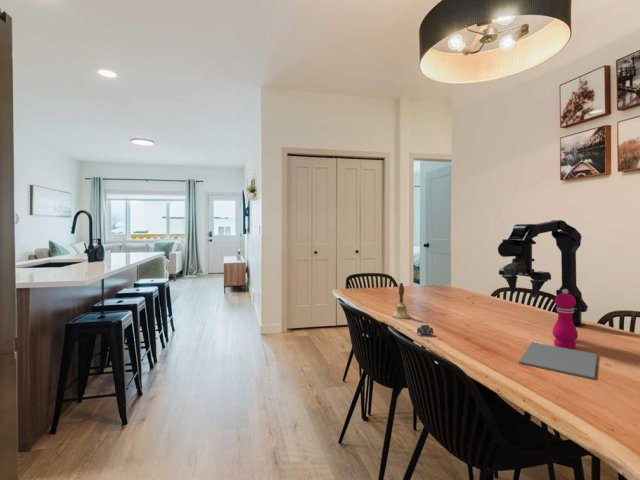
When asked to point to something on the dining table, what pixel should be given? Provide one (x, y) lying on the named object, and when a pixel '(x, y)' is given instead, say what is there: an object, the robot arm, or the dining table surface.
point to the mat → (560, 360)
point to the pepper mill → (565, 321)
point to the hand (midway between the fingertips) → (523, 295)
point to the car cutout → (425, 330)
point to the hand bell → (401, 305)
